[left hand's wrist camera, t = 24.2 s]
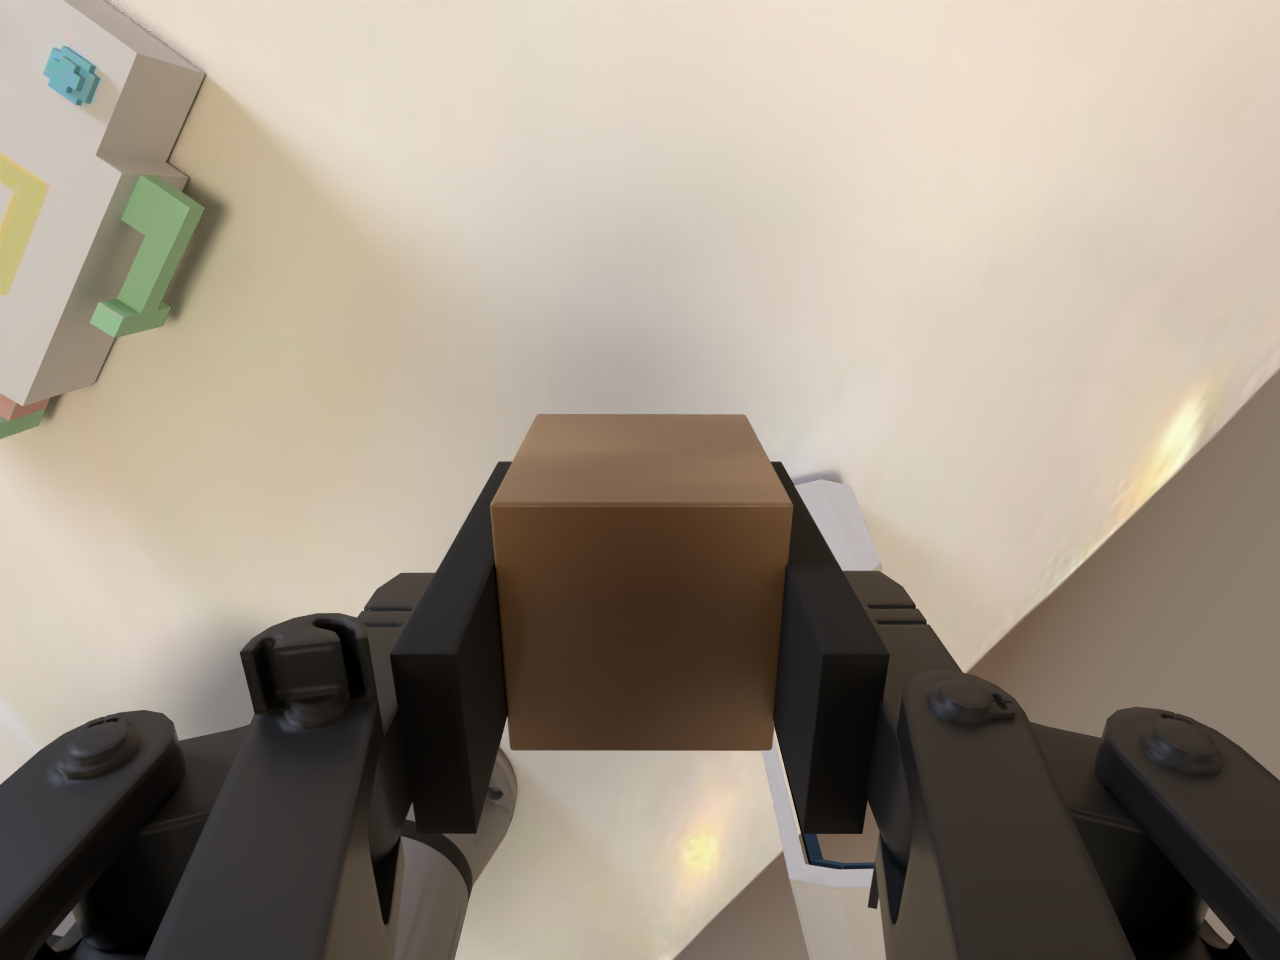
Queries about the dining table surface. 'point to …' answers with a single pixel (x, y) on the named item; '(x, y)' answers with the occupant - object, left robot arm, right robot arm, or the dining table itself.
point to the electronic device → (824, 889)
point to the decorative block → (84, 193)
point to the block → (641, 583)
